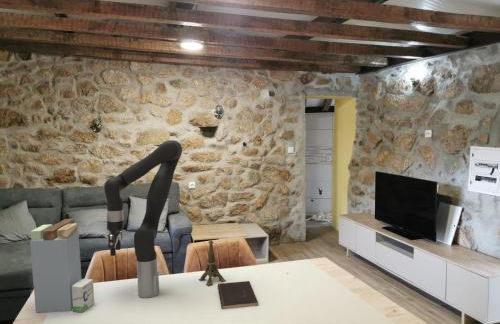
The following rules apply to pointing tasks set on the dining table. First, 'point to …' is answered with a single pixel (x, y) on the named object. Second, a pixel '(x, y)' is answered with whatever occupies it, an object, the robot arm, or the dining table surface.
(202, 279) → the eiffel tower
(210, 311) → the dining table surface
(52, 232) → the walnut bar
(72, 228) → the maple bar
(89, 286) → the ink box
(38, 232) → the sage bar
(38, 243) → the stand
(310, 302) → the dining table surface
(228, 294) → the hardcover book
